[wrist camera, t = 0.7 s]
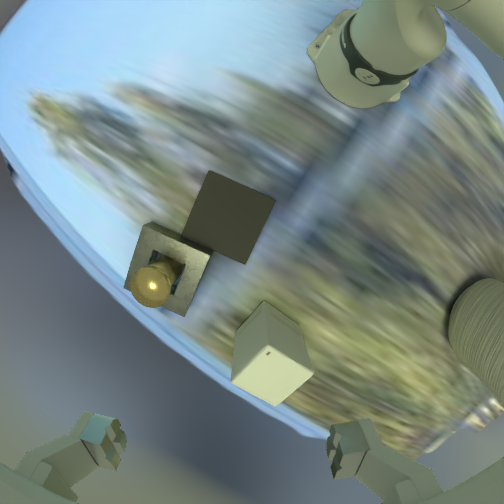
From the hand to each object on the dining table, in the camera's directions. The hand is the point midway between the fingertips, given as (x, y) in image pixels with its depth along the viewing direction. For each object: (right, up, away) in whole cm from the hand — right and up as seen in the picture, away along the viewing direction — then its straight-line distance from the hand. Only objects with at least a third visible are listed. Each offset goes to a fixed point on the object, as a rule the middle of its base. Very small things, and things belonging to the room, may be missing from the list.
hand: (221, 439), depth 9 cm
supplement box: (+4, -8, +43) cm, 44 cm away
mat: (-3, +13, +38) cm, 40 cm away
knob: (-13, +4, +40) cm, 43 cm away
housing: (-13, +4, +40) cm, 43 cm away
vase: (+54, -7, +43) cm, 69 cm away
